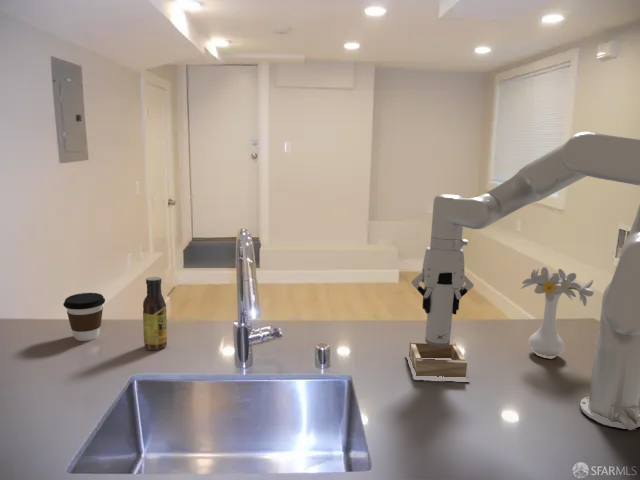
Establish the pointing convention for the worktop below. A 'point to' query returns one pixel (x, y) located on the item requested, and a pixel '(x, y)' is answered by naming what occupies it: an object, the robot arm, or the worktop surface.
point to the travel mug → (440, 312)
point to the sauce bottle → (154, 316)
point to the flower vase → (553, 307)
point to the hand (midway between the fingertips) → (440, 311)
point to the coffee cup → (85, 315)
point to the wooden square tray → (437, 367)
